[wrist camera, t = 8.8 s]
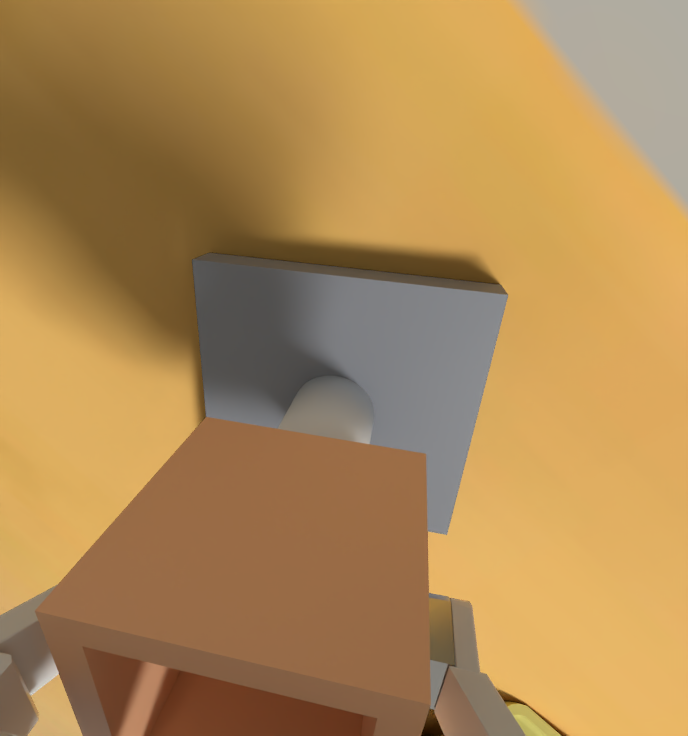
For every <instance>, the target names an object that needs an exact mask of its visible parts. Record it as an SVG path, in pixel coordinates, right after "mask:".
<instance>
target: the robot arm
mask: <svg viewBox="0 0 688 736" xmlns="http://www.w3.org/2000/svg"><path fill="white" fill-rule="evenodd" d="M56 586H57V585H56ZM56 586H54V587H52V588H50V589H48V590H47V591H45V592H43V593H41V594H39V595H37V596H35V597H34V598H32V599H30V600H28V601H26V602H24V603H22V604H21V605H19V606H17V607H15V608H13V609H11V610H9V611H8V612H6V613H4V614H2V615H0V736H27V735H28V734H29V732H30V731H31V729H32V728H33V726H34V725H35V723H36V722H37V721H38V710H37V708H36V706H35V704H34V702H33V700H32V698H31V695H32V694H34V693H35V692H36V691H37V690H39V689H40V688H41V687H43V686H44V685H45V684H46V683H48V682H49V681H50V680H52V679H53V678H54V677H56V676H57V675H58V674H59V672H58V670H57V667H56V665H55V662H54V660H53V657H52V654H51V652H50V649H49V647H48V644H47V642H46V639H45V636H44V634H43V631H42V629H41V626H40V623H39V621H38V618H37V616H36V613H35V610H36V609H37V608H38V606H39V605H40V604H41V603H42V602H43V601H44V600H45V599H46V597H47V596H48V595H49V594H50V593H51V592H52V591H53V590H54V588H55V587H56ZM429 633H430V685H431V706H430V709H434V713H435V715H436V718H437V720H438V722H439V724H440V727H441V729H442V731H443V734H444V736H526V735H525V733H524V732H523V730H522V729H521V727H520V725H519V724H518V722H517V721H516V719H515V718H514V716H513V715H512V713H511V711H510V710H509V708H508V707H507V705H506V704H505V702H504V700H503V699H502V697H501V696H500V694H499V693H498V691H497V690H496V688H495V686H494V685H493V683H492V682H491V680H490V679H489V677H488V675H487V674H485V673H481V672H480V666H479V658H478V650H477V642H476V633H475V625H474V617H473V609H472V605H471V603H470V602H469V601H464V600H459V599H454V598H449V597H447V596H442V595H436V594H431V593H429Z"/></svg>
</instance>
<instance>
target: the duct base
mask: <svg viewBox="0 0 688 736" xmlns="http://www.w3.org/2000/svg"><path fill="white" fill-rule="evenodd" d="M192 265H193V276H194V287H195V298H196V310H197V321H198V332H199V343H200V354H201V365H202V376H203V388H204V399H205V410H206V417H210V418H216V419H222V420H228V421H234V422H240V423H246V424H252V425H258V426H264V427H270V428H276V429H282V430H288V431H294V432H299V433H305V434H311V435H317V436H323V437H329V438H335V439H341V440H347V441H353V442H359V443H365V444H371V445H377V446H383V447H389V448H395V449H401V450H407V451H413V452H419V453H425V454H426V475H427V527H428V531H429V532H435V533H440V534H446V535H447V532H448V528H449V525H450V521H451V517H452V513H453V509H454V505H455V501H456V497H457V493H458V489H459V485H460V482H461V478H462V474H463V470H464V466H465V462H466V458H467V454H468V450H469V446H470V442H471V438H472V435H473V431H474V427H475V423H476V419H477V415H478V411H479V407H480V403H481V399H482V395H483V392H484V388H485V384H486V380H487V376H488V372H489V368H490V364H491V360H492V356H493V352H494V349H495V345H496V341H497V337H498V333H499V329H500V325H501V321H502V317H503V313H504V309H505V306H506V302H507V298H508V294H507V293H506V291H505V290H504V288H503V287H502V286H501V285H500V284H491V283H482V282H473V281H463V280H454V279H445V278H436V277H427V276H418V275H409V274H400V273H390V272H381V271H372V270H363V269H354V268H345V267H336V266H327V265H317V264H308V263H299V262H290V261H281V260H272V259H263V258H254V257H244V256H235V255H226V254H217V253H207V254H205V255H202V256H200V257H197V258H195V259H192Z"/></svg>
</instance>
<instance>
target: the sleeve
mask: <svg viewBox="0 0 688 736" xmlns="http://www.w3.org/2000/svg"><path fill="white" fill-rule="evenodd" d="M35 613H36V616H37V618H38V621H39V623H40V626H41V629H42V631H43V634H44V636H45V639H46V642H47V644H48V647H49V649H50V652H51V654H52V657H53V660H54V662H55V665H56V667H57V670H58V672H59V675H60V678H61V680H62V683H63V685H64V688H65V691H66V693H67V696H68V698H69V701H70V703H71V706H72V709H73V711H74V714H75V716H76V719H77V721H78V724H79V727H80V729H81V732H82V734H83V736H421V734H422V731H423V728H424V725H425V722H426V718H427V715H428V712H429V709H430V706H431V685H430V633H429V580H428V527H427V475H426V454H425V453H419V452H413V451H407V450H401V449H395V448H389V447H383V446H377V445H371V444H365V443H359V442H353V441H347V440H341V439H335V438H329V437H323V436H317V435H311V434H305V433H299V432H294V431H288V430H282V429H276V428H270V427H264V426H258V425H252V424H246V423H240V422H234V421H228V420H222V419H216V418H210V417H206V418H205V419H204V420H203V421H202V422H201V423H200V424H199V425H198V427H197V428H196V429H195V430H194V431H193V432H192V433H191V435H190V436H189V437H188V438H187V439H186V440H185V441H184V442H183V444H182V445H181V446H180V447H179V448H178V449H177V450H176V451H175V453H174V454H173V455H172V456H171V457H170V458H169V459H168V461H167V462H166V463H165V464H164V465H163V466H162V467H161V468H160V470H159V471H158V472H157V473H156V474H155V475H154V476H153V478H152V479H151V480H150V481H149V482H148V483H147V484H146V485H145V487H144V488H143V489H142V490H141V491H140V492H139V493H138V494H137V496H136V497H135V498H134V499H133V500H132V501H131V502H130V504H129V505H128V506H127V507H126V508H125V509H124V510H123V511H122V513H121V514H120V515H119V516H118V517H117V518H116V519H115V520H114V522H113V523H112V524H111V525H110V526H109V527H108V528H107V530H106V531H105V532H104V533H103V534H102V535H101V536H100V537H99V539H98V540H97V541H96V542H95V543H94V544H93V545H92V547H91V548H90V549H89V550H88V551H87V552H86V553H85V554H84V556H83V557H82V558H81V559H80V560H79V561H78V562H77V563H76V565H75V566H74V567H73V568H72V569H71V570H70V571H69V573H68V574H67V575H66V576H65V577H64V578H63V579H62V580H61V582H60V583H59V584H58V585H57V586H56V587H55V588H54V590H53V591H52V592H51V593H50V594H49V595H48V596H47V597H46V599H45V600H44V601H43V602H42V603H41V604H40V605H39V606H38V608H37V609H36V610H35Z"/></svg>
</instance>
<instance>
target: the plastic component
mask: <svg viewBox="0 0 688 736" xmlns="http://www.w3.org/2000/svg"><path fill="white" fill-rule="evenodd" d="M505 704H506V705H507V707H508V708H509V710H510V711H511V713H512V715H513V716H514V718H515V719H516V721H517V722H518V724H519V725H520V727H521V729H522V730H523V732H524V733H525V735H526V736H561V735H560V734H559V733H558V732H557V731H555V730H554V729H553V728H552V727H551V726H550V725H548V724H547V723H546V722H545V721H544V720H543V719H542V718H540V717H539V716H538V715H537V714H536V713H535V712H533V711H532V710H531V709H530V708H529V707H528V706H526V705H522V704H519V703H516V702H510V701H506V702H505Z"/></svg>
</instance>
